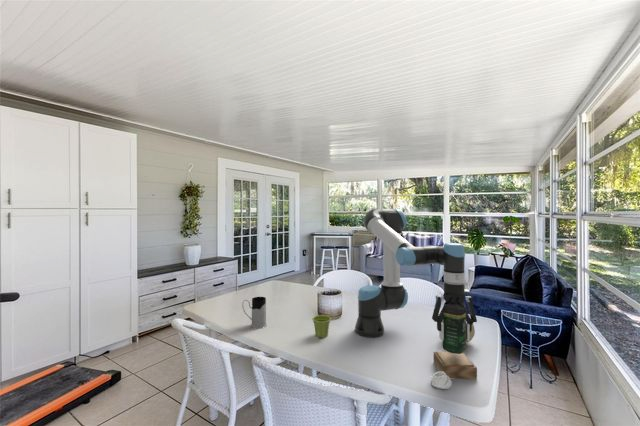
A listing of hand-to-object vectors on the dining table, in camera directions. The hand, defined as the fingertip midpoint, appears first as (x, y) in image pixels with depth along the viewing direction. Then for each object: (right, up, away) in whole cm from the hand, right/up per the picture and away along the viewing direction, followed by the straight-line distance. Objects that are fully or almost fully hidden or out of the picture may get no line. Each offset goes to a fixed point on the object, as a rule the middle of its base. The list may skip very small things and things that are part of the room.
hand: (454, 339), depth 117 cm
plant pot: (-52, -13, +34) cm, 64 cm away
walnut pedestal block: (0, -12, 0) cm, 12 cm away
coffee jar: (0, -4, 0) cm, 4 cm away
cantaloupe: (+13, -13, +25) cm, 31 cm away
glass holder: (-90, -13, +48) cm, 102 cm away
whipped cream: (-9, -13, -9) cm, 19 cm away
